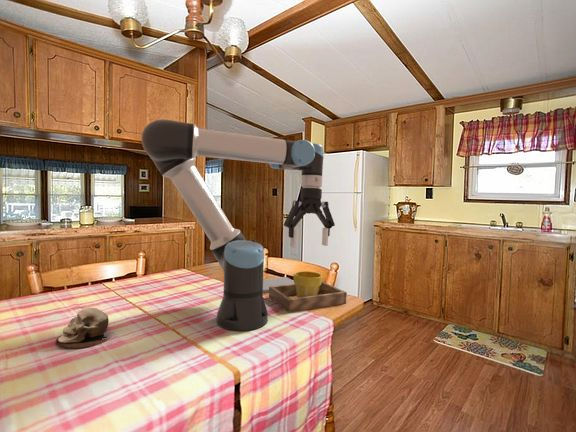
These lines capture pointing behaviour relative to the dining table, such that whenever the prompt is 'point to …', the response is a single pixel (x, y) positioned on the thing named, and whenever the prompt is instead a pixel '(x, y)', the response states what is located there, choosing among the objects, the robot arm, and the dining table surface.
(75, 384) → the dining table surface
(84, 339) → the skull
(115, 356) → the dining table surface
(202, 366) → the dining table surface
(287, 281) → the slate tray
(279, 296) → the walnut crate
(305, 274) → the plant pot
